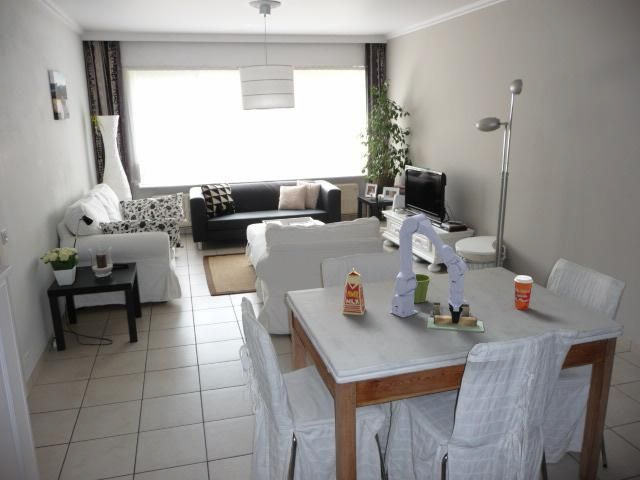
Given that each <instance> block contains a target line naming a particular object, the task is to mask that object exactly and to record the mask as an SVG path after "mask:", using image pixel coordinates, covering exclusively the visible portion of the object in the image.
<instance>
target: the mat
mask: <svg viewBox="0 0 640 480" xmlns="http://www.w3.org/2000/svg"><path fill="white" fill-rule="evenodd" d="M426 328H427V329H432V330H449V331H460V332H463V331H464V332H475V333H476V332H477V333H484V332H485V331H484V323H483V321H482V320H477V327H472V326H457V325H442V324H434V317H427V325H426Z"/></svg>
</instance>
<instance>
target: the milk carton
mask: <svg viewBox="0 0 640 480" xmlns="http://www.w3.org/2000/svg"><path fill="white" fill-rule="evenodd" d="M345 280H346V281H345V287H344V298H343V306H342V313H341V314H342V315H343V314H344V315H355V316H364V313H365V310H366V303H365V296H364V287H363V282H362V281H363V280H362V275H361V274H360V273H359V272H357V271H356V270H355V268H354V267H352V270H351V272H349V273H348V274H347V277H346V279H345Z"/></svg>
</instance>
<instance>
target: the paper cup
mask: <svg viewBox="0 0 640 480" xmlns="http://www.w3.org/2000/svg"><path fill="white" fill-rule="evenodd" d="M513 280H514V308H515V309H516V308H517V310H520V311H527V310H528V309H529V307H530V301H531V293H532V287H533V283H534V280H533V278H532V277H531V276H529V275H523V274H521V275H516V276H515V278H514V279H513Z"/></svg>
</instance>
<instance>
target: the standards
mask: <svg viewBox="0 0 640 480" xmlns="http://www.w3.org/2000/svg"><path fill="white" fill-rule="evenodd" d="M461 308H463V311H462V312H461V314H460V317H472V313H470V303H463V306H462V307H461ZM434 315H442V316H443V311H441V302H440V301H433V302H432V310H430V315H429V316H430V317H429V318H434Z"/></svg>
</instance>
